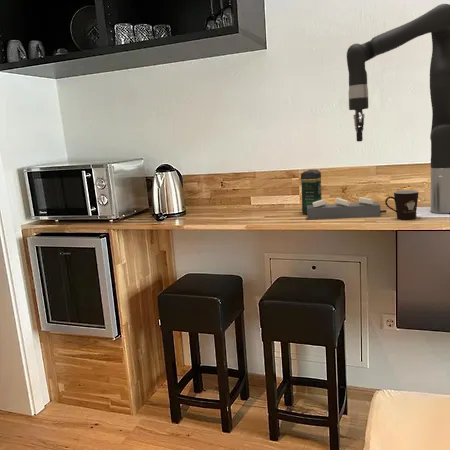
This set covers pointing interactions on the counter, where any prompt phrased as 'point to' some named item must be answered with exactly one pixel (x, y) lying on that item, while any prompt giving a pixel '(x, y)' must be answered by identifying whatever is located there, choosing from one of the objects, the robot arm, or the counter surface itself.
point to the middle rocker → (342, 201)
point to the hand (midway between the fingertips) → (359, 141)
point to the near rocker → (366, 200)
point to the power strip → (344, 211)
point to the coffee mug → (405, 204)
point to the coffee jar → (310, 188)
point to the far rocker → (319, 203)
